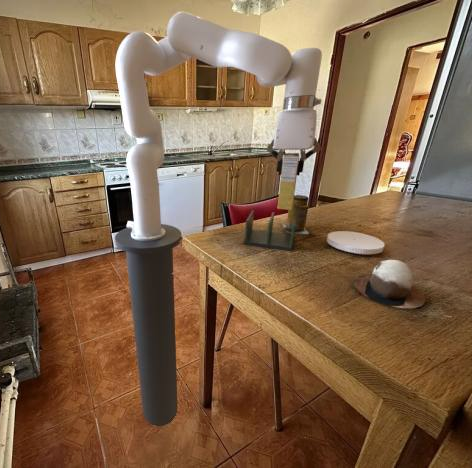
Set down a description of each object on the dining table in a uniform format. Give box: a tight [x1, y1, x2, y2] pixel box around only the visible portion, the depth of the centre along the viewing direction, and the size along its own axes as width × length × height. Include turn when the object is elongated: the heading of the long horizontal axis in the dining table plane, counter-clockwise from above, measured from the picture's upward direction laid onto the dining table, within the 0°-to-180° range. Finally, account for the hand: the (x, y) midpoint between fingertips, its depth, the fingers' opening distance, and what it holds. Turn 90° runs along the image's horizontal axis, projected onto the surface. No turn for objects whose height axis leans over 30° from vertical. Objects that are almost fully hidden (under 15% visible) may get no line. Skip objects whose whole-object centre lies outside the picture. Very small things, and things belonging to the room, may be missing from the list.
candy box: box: [276, 152, 300, 211], centre depth 76 cm, size 9×4×15 cm, turn 154°
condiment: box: [282, 194, 310, 235], centre depth 90 cm, size 7×8×12 cm
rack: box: [243, 210, 296, 252], centre depth 83 cm, size 14×12×8 cm
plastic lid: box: [326, 230, 386, 255], centre depth 77 cm, size 14×14×2 cm
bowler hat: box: [353, 259, 426, 309], centre depth 56 cm, size 12×10×10 cm
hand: (289, 173), depth 75 cm, fingers closed on candy box, 4 cm apart
